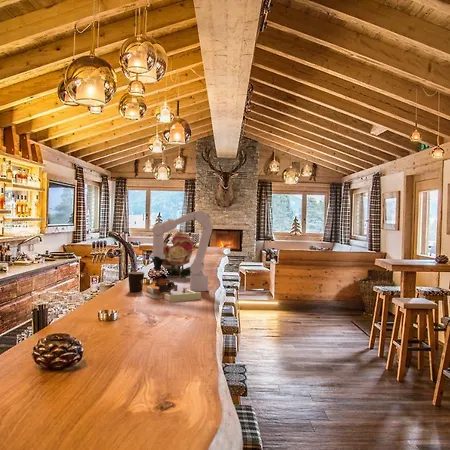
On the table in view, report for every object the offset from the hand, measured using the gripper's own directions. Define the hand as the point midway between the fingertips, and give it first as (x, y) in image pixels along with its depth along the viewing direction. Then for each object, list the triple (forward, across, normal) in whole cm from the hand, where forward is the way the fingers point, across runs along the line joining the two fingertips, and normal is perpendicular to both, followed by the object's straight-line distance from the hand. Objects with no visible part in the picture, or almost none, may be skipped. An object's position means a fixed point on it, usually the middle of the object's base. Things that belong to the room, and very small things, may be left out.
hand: (157, 270), depth 246 cm
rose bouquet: (+10, -41, +31) cm, 52 cm away
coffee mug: (+10, +4, -12) cm, 16 cm away
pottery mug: (+10, +12, -1) cm, 16 cm away
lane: (+10, +20, -1) cm, 22 cm away
